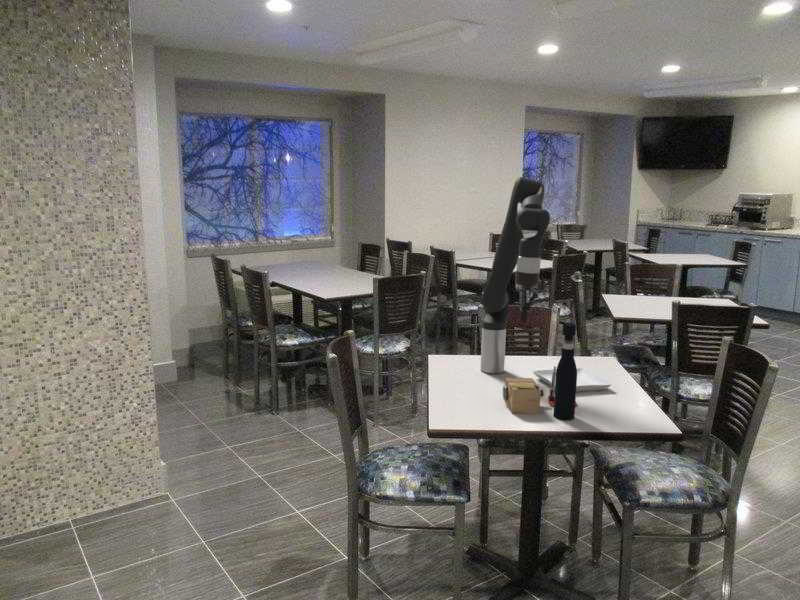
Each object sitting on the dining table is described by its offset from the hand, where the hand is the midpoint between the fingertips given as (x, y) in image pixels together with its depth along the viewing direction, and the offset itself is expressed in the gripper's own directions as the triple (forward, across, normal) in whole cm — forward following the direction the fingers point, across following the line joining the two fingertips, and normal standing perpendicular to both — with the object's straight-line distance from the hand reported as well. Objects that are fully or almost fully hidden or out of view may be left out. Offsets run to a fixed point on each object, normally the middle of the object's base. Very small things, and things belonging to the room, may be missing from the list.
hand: (522, 321), depth 212 cm
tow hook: (+27, -3, -16) cm, 31 cm away
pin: (+25, -4, -2) cm, 26 cm away
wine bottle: (+27, -15, -13) cm, 33 cm away
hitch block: (+27, -7, -1) cm, 28 cm away
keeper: (+19, -11, -1) cm, 22 cm away
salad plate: (+27, +19, -23) cm, 40 cm away
